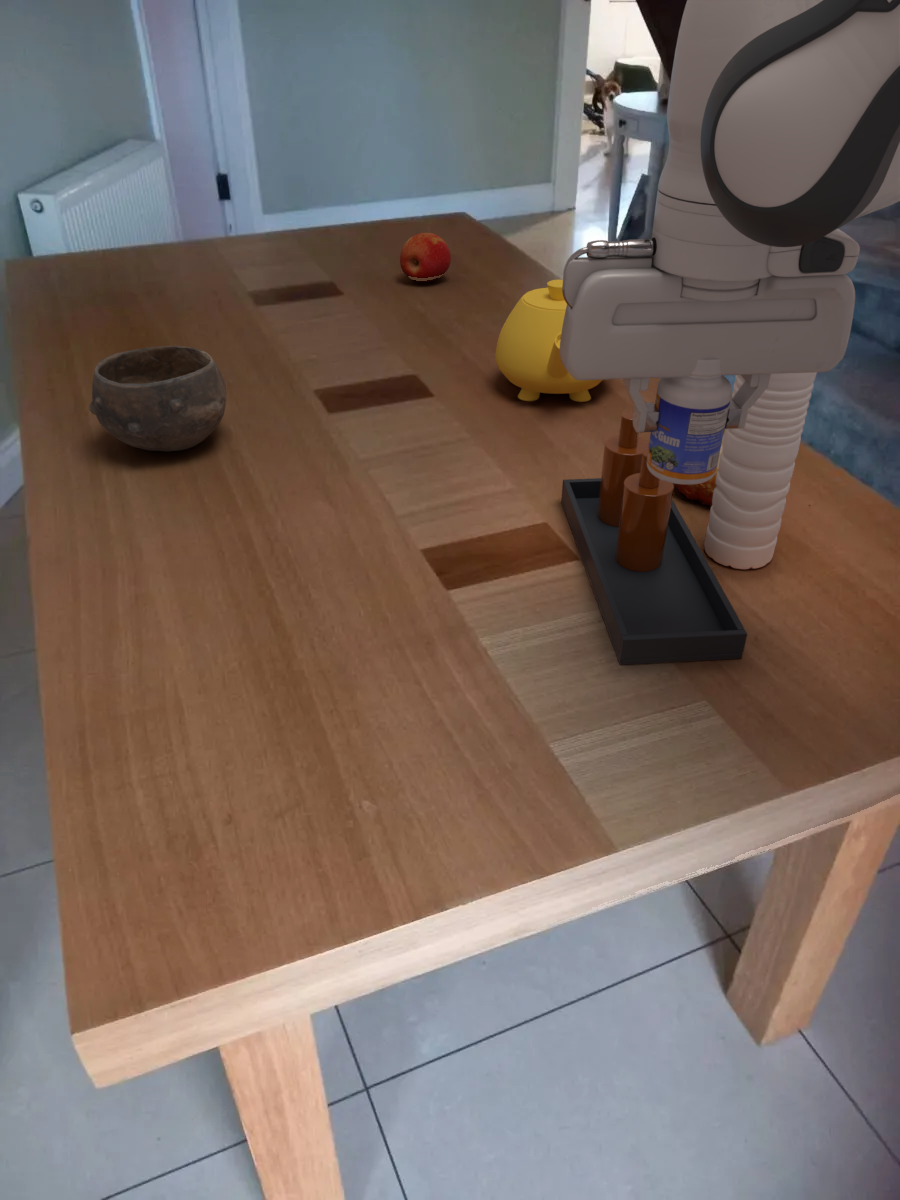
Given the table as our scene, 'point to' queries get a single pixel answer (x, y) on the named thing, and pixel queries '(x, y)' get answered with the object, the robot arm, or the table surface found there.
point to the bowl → (159, 397)
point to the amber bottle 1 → (619, 468)
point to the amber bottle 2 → (643, 520)
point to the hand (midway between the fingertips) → (688, 427)
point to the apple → (425, 256)
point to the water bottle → (757, 473)
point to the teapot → (538, 347)
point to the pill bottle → (690, 425)
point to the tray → (653, 590)
